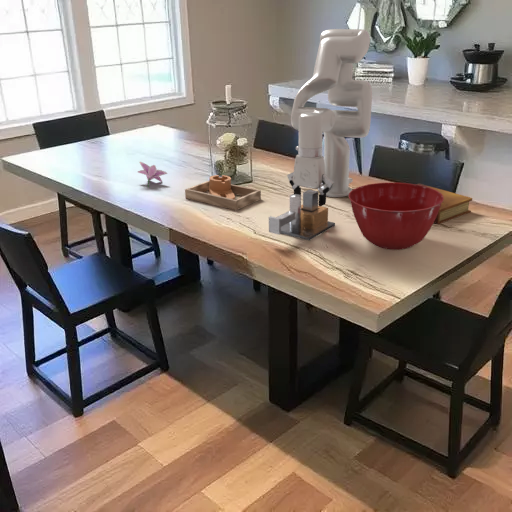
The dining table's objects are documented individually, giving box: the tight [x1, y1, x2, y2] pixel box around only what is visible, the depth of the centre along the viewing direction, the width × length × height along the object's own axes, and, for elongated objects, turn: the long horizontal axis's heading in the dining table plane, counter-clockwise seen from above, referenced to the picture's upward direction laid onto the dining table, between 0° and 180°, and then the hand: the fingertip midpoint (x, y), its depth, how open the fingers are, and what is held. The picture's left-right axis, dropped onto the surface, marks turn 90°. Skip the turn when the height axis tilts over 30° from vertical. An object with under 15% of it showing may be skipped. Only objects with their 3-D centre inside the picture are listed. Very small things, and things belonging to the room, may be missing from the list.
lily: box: [137, 161, 168, 188], centre depth 258 cm, size 12×12×10 cm
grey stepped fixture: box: [268, 193, 336, 242], centre depth 203 cm, size 25×14×13 cm, turn 143°
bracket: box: [208, 174, 236, 200], centre depth 239 cm, size 18×8×7 cm, turn 11°
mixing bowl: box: [348, 182, 444, 251], centre depth 194 cm, size 28×28×16 cm
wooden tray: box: [184, 180, 262, 211], centre depth 239 cm, size 15×25×4 cm, turn 53°
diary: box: [416, 183, 473, 225], centre depth 223 cm, size 23×19×6 cm
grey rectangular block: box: [302, 189, 319, 213], centre depth 209 cm, size 4×4×11 cm
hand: (309, 202), depth 208 cm, fingers open, 9 cm apart
